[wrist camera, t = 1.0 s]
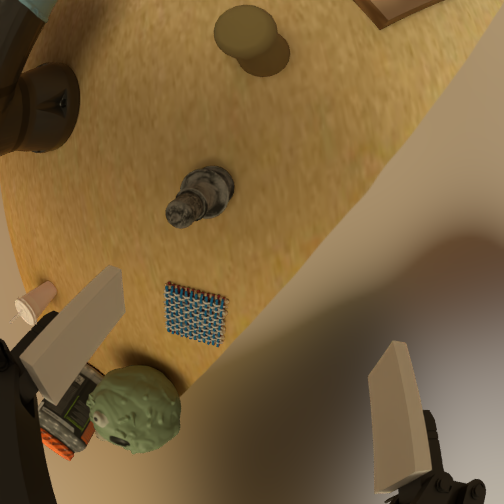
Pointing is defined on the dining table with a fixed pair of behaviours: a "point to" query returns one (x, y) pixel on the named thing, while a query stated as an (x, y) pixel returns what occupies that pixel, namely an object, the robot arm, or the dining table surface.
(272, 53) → the olive brown knobbed peg
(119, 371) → the green monster head
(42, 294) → the smoothie
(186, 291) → the woven mat
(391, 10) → the walnut base
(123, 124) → the dining table surface
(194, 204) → the salt shaker
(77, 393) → the supplement tub
